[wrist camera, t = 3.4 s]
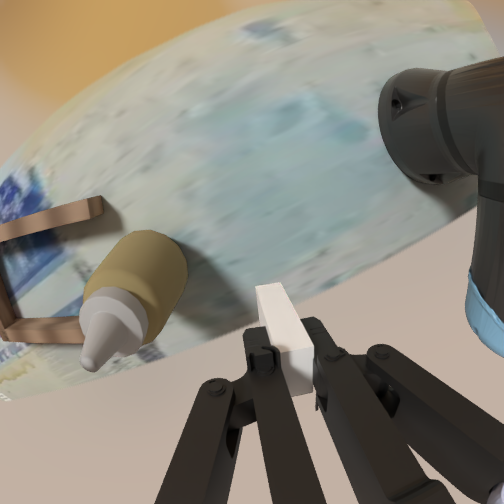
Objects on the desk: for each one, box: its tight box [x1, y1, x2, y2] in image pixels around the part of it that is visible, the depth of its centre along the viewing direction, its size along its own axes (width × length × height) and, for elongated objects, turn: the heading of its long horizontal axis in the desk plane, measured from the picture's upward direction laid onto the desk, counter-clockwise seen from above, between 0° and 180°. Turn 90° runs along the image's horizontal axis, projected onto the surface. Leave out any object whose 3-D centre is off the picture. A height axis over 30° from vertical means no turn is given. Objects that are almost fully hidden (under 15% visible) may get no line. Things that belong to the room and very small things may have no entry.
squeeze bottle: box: [79, 230, 188, 372], centre depth 20 cm, size 8×8×18 cm
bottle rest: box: [0, 195, 104, 343], centre depth 26 cm, size 23×16×4 cm
